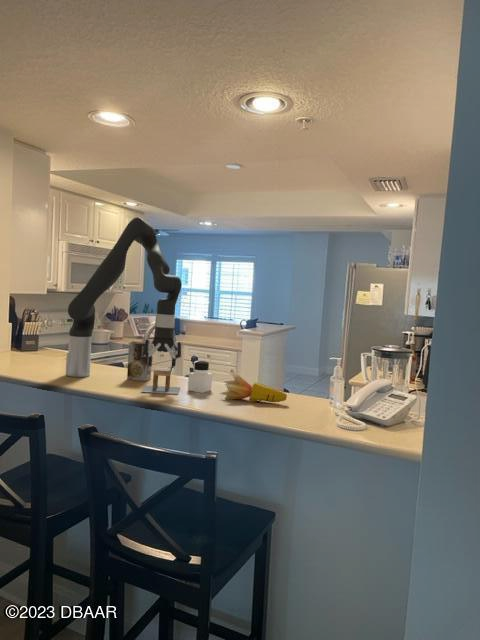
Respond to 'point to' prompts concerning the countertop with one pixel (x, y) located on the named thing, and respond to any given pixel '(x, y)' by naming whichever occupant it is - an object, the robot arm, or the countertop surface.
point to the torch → (251, 391)
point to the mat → (160, 390)
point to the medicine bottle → (200, 378)
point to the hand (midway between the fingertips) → (161, 366)
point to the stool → (161, 372)
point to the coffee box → (138, 362)
